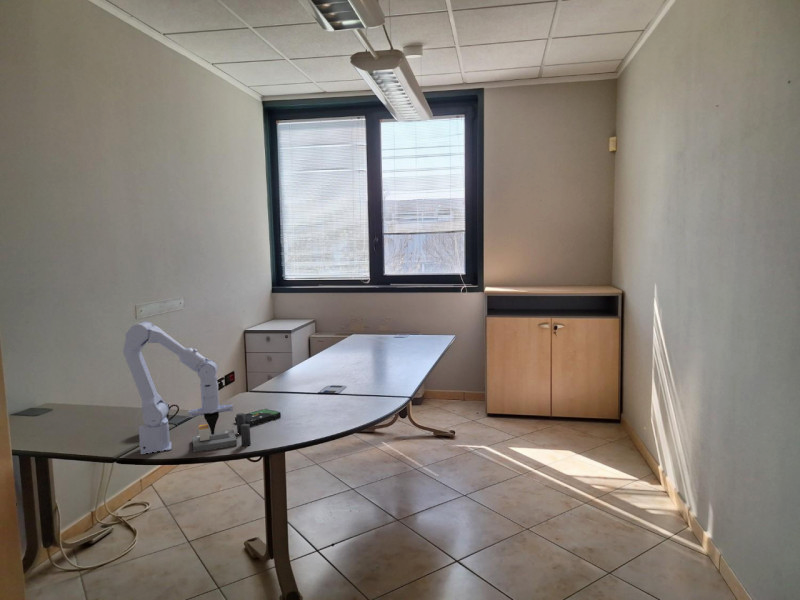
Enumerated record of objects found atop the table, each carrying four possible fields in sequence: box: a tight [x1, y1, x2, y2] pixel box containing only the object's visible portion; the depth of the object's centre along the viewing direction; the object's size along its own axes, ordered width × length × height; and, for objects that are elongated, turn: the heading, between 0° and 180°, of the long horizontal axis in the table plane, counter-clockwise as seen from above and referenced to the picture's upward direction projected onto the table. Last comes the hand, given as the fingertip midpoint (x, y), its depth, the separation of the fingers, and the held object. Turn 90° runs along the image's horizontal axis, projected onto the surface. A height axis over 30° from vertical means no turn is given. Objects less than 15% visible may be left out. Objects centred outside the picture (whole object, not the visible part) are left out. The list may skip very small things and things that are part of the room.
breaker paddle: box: [198, 423, 210, 441], centre depth 187 cm, size 3×4×4 cm
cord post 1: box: [235, 412, 246, 435], centre depth 199 cm, size 3×3×7 cm
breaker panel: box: [191, 429, 238, 452], centre depth 189 cm, size 14×12×2 cm
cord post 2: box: [240, 424, 252, 447], centre depth 186 cm, size 3×3×7 cm
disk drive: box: [234, 408, 282, 428], centre depth 214 cm, size 10×3×15 cm
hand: (212, 433), depth 188 cm, fingers closed
